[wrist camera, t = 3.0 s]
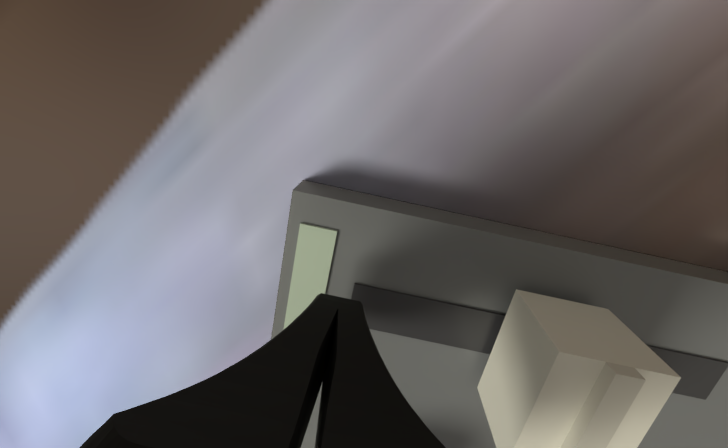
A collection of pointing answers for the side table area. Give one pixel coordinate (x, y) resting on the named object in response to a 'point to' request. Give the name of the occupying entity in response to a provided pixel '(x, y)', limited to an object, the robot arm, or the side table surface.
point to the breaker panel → (496, 305)
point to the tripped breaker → (570, 378)
